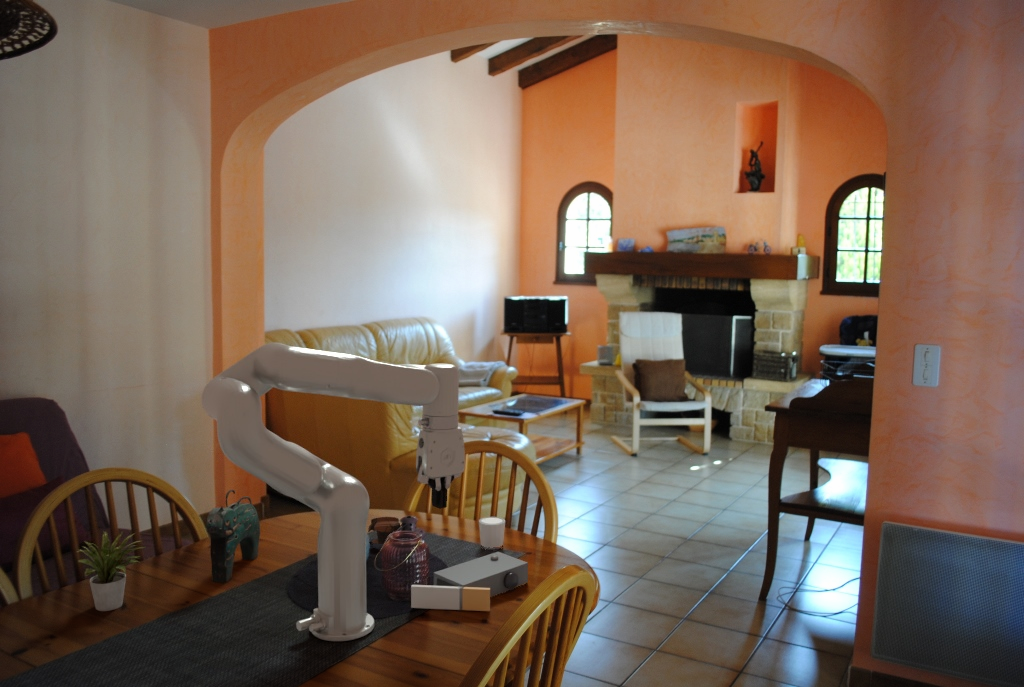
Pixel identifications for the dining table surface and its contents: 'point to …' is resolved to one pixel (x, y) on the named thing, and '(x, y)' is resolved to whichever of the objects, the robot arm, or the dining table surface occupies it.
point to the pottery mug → (383, 527)
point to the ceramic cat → (232, 536)
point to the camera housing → (485, 573)
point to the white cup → (491, 531)
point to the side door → (450, 597)
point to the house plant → (108, 572)
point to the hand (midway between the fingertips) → (439, 506)
